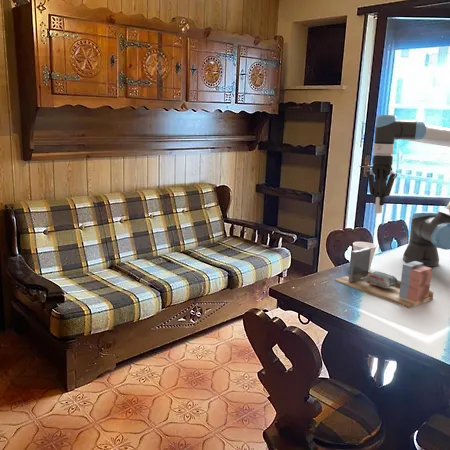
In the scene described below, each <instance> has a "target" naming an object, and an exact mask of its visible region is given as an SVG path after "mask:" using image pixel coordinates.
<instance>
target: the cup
mask: <svg viewBox="0 0 450 450" xmlns="http://www.w3.org/2000/svg"><path fill="white" fill-rule="evenodd" d="M352 246H353V251H356V250H360V249H365V248H369V249H371V251H370V260H369V270H370V269H371V266H372V262H373V259H374V256H375V253H376V249H377V244H375V243H372V242H367V241H366V242H365V241H354V242H353V243H352Z"/></svg>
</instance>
